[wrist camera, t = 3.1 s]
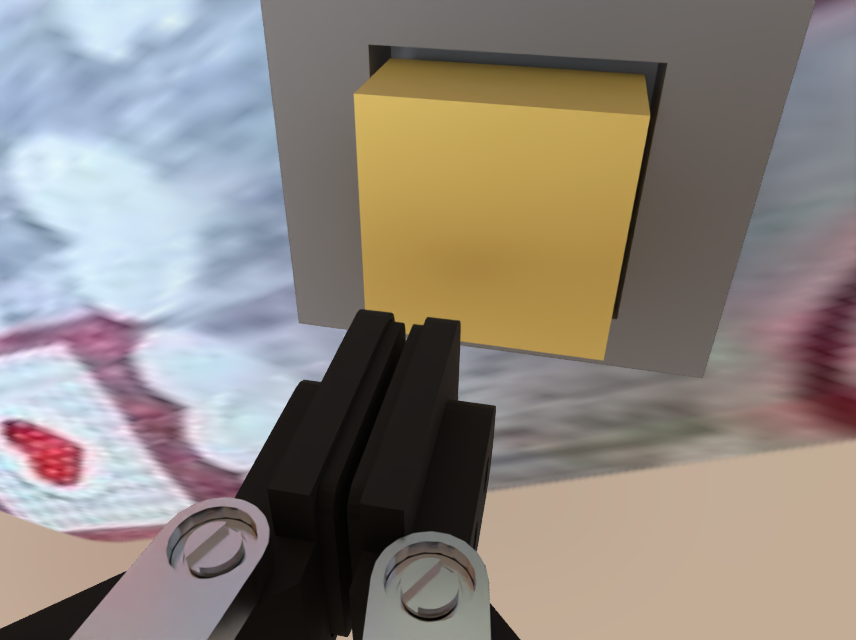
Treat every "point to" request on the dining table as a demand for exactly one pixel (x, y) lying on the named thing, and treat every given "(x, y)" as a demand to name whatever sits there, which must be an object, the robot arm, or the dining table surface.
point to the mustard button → (499, 198)
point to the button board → (560, 49)
